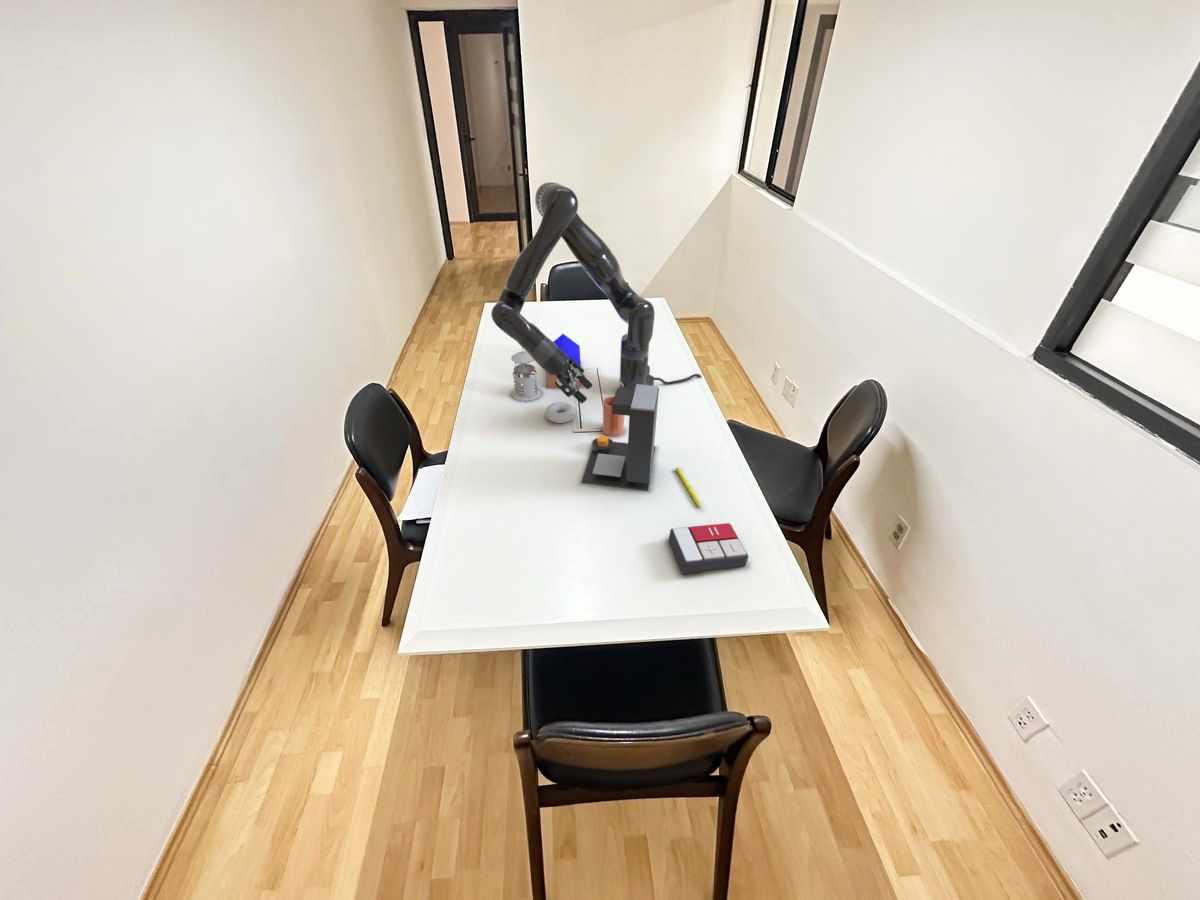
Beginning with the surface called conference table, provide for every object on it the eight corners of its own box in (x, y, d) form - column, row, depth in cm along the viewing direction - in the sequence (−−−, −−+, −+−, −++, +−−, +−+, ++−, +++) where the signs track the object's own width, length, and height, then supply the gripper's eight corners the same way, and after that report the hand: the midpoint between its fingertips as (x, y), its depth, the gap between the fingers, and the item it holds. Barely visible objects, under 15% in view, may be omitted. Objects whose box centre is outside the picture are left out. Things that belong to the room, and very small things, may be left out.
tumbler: (615, 423, 165) (616, 394, 159) (627, 432, 161) (629, 403, 155) (598, 429, 162) (598, 400, 156) (610, 439, 158) (611, 409, 152)
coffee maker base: (581, 483, 141) (581, 475, 139) (594, 441, 157) (594, 434, 155) (648, 491, 138) (648, 483, 137) (655, 448, 154) (655, 440, 153)
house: (546, 388, 183) (545, 357, 176) (548, 362, 199) (546, 333, 192) (581, 387, 184) (580, 357, 177) (579, 362, 200) (579, 333, 193)
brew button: (596, 446, 151) (596, 441, 150) (598, 440, 153) (598, 434, 152) (607, 447, 150) (607, 442, 149) (609, 441, 153) (609, 435, 152)
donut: (541, 423, 165) (572, 426, 163) (540, 414, 163) (572, 417, 161) (550, 407, 173) (579, 410, 171) (549, 398, 171) (579, 401, 169)
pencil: (675, 471, 145) (675, 468, 145) (679, 470, 146) (679, 467, 145) (699, 510, 132) (699, 507, 132) (702, 509, 133) (703, 506, 132)
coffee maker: (591, 477, 139) (591, 403, 126) (599, 451, 149) (600, 380, 135) (648, 484, 137) (654, 409, 124) (653, 457, 147) (659, 385, 133)
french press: (517, 403, 174) (511, 333, 160) (506, 388, 183) (498, 320, 168) (545, 397, 178) (541, 327, 163) (532, 382, 186) (527, 314, 172)
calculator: (750, 554, 115) (685, 561, 113) (745, 568, 118) (682, 574, 115) (730, 520, 124) (670, 526, 121) (727, 533, 127) (667, 539, 124)
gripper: (550, 358, 143) (591, 399, 148) (562, 337, 154) (600, 375, 159) (532, 374, 147) (573, 413, 152) (546, 352, 158) (583, 389, 163)
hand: (587, 394), depth 156 cm, fingers open, 8 cm apart
